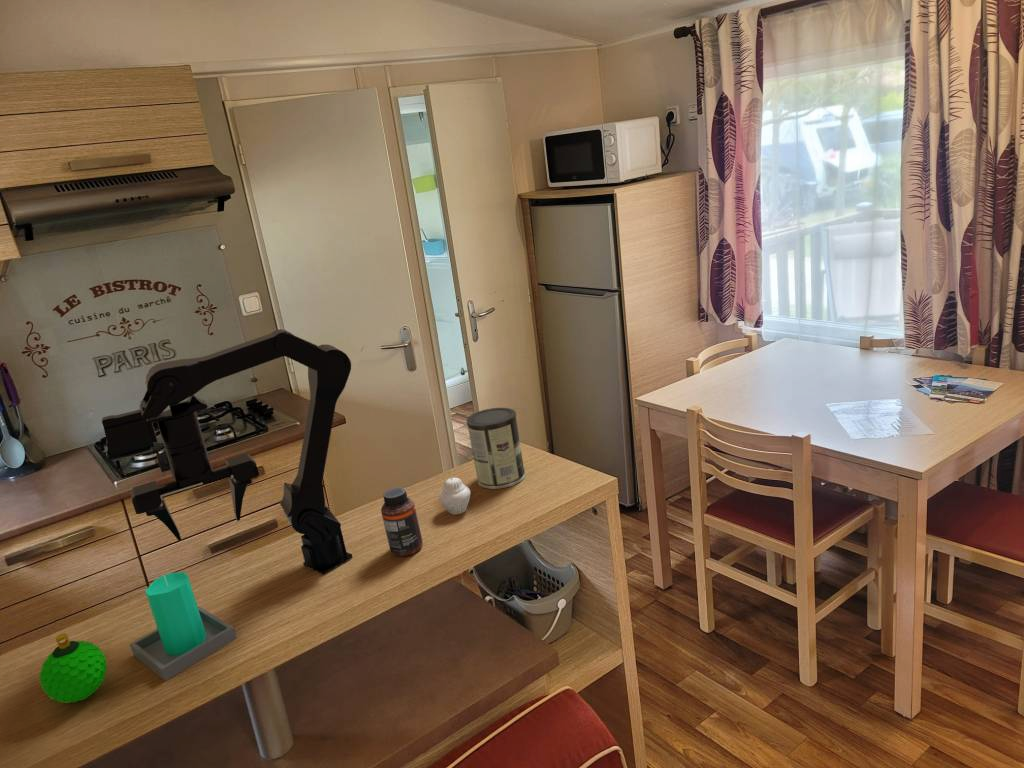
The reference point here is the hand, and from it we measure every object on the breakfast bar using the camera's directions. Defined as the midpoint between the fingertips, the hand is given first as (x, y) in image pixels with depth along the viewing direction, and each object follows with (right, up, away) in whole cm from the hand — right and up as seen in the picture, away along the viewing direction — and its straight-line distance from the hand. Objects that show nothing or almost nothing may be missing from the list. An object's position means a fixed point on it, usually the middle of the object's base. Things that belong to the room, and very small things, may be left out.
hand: (209, 529), depth 122 cm
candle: (0, -16, -8) cm, 18 cm away
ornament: (-11, -21, -16) cm, 29 cm away
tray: (0, -16, -8) cm, 18 cm away
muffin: (+39, -1, +23) cm, 45 cm away
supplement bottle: (+31, -6, +11) cm, 33 cm away
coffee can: (+47, +4, +35) cm, 59 cm away
